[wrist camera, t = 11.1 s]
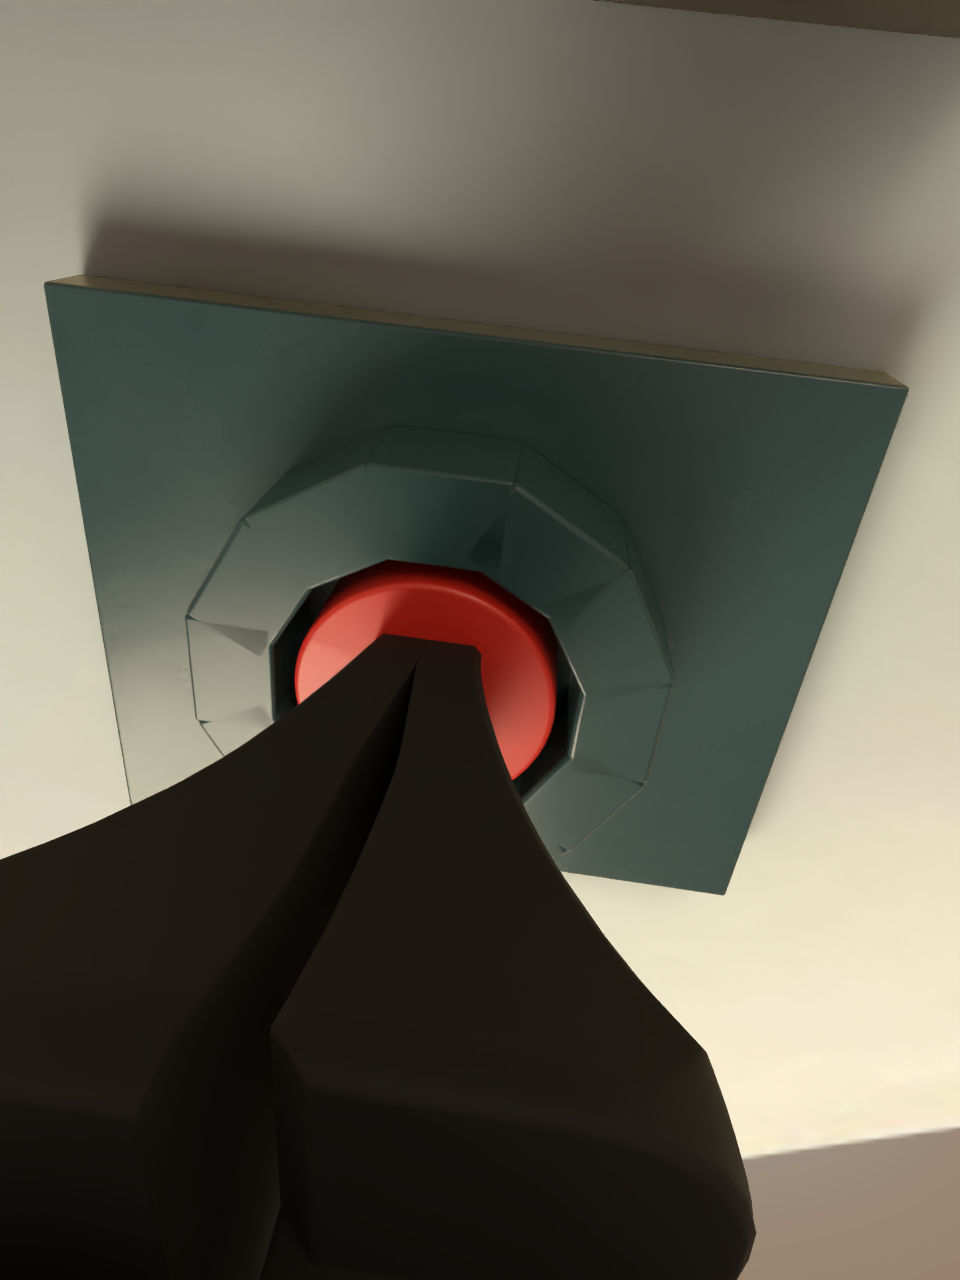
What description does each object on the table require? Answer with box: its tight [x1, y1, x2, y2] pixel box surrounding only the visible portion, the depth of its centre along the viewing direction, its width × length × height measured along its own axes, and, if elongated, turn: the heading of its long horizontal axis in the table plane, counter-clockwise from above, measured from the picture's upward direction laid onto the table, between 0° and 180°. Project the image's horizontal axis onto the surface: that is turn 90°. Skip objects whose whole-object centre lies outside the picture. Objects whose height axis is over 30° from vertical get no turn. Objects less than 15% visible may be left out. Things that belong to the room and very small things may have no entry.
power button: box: [295, 559, 558, 780], centre depth 11 cm, size 4×4×2 cm
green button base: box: [44, 275, 909, 895], centre depth 12 cm, size 11×9×3 cm
